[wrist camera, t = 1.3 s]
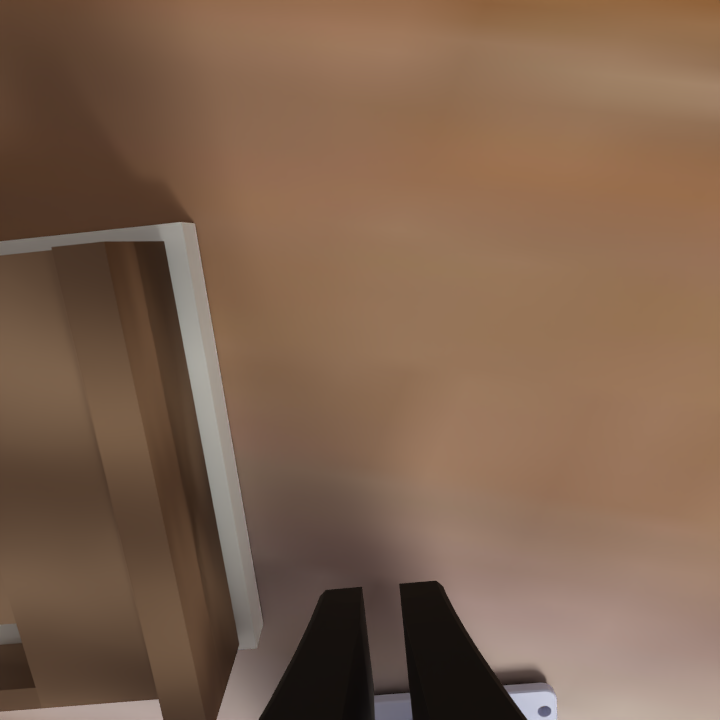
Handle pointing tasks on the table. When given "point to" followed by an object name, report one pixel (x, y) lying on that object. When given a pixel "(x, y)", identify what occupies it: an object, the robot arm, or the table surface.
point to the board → (206, 400)
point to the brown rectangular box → (105, 490)
